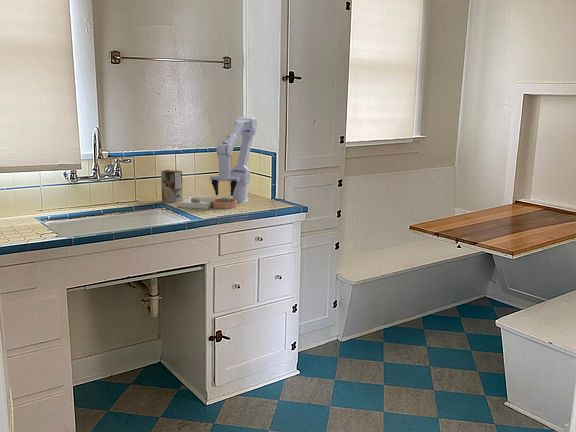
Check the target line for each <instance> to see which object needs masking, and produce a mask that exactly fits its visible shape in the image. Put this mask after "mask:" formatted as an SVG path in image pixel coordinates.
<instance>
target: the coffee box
mask: <svg viewBox="0 0 576 432" xmlns="http://www.w3.org/2000/svg"><path fill="white" fill-rule="evenodd" d="M160 181H161V182H160V183H161V184H160V185H161V202H167V203H180V202H182V201H184V200H183V199H184V198H183V172H182V170H173V169H165V170H162V171H160Z"/></svg>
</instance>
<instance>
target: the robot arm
mask: <svg viewBox="0 0 576 432" xmlns="http://www.w3.org/2000/svg"><path fill="white" fill-rule="evenodd" d="M234 123H235V125H234V127H233V130H232V131H231V133H228V134H227V135H226V136H225V138H223V140H222V142H221V143H219V144H217V146H216V149H215V152H216V155H217V159H218V175H212V176H209V181H211V182H210V183H211V185H212V187H213V190H214V193H215V196H218V195H219V182H229V185H230V197H232V199H236V200H237V203H245V204H246V203H247V202H248V201H249V200H250V199H249V198H248V186H247V185H248V184H249V183H250V181H251V171H250V169H249V168H248V167H247V166H248V161H249V157H250V154H251V147H252V144H253V137H254V136H255V135H256V131H257V128H258V122H257V119H256V118H255V117H245V116H244V117H243V116H238V117H237V118H235V121H234ZM240 135H242V139H241V144H240V150H239V153H238V158H237V162H236V165H234V166H232V168H231V156H232V154H233V151H234V147H235V145H236V144H237V143H238V137H239V136H240Z"/></svg>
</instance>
